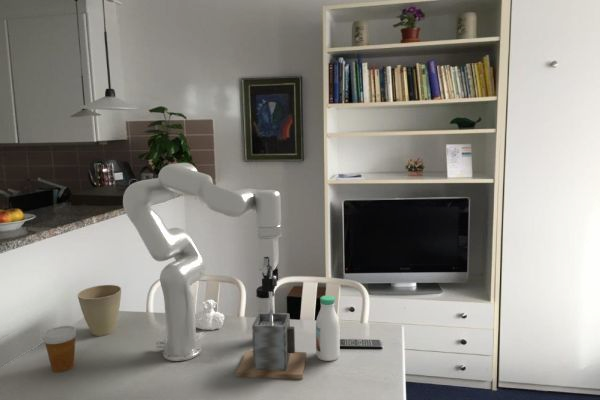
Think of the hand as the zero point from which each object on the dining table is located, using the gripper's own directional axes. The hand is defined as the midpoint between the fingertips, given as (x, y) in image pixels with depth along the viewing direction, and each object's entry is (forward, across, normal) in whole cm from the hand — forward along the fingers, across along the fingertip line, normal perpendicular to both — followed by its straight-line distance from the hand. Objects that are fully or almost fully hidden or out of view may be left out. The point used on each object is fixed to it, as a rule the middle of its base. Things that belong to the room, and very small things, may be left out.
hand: (270, 285), depth 139 cm
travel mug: (+26, -18, -5) cm, 32 cm away
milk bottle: (+26, -8, +17) cm, 32 cm away
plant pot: (+26, -21, -68) cm, 76 cm away
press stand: (+26, 0, 0) cm, 26 cm away
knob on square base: (+14, 0, 0) cm, 14 cm away
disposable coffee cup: (+26, +5, -67) cm, 72 cm away
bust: (+27, -28, -29) cm, 48 cm away
